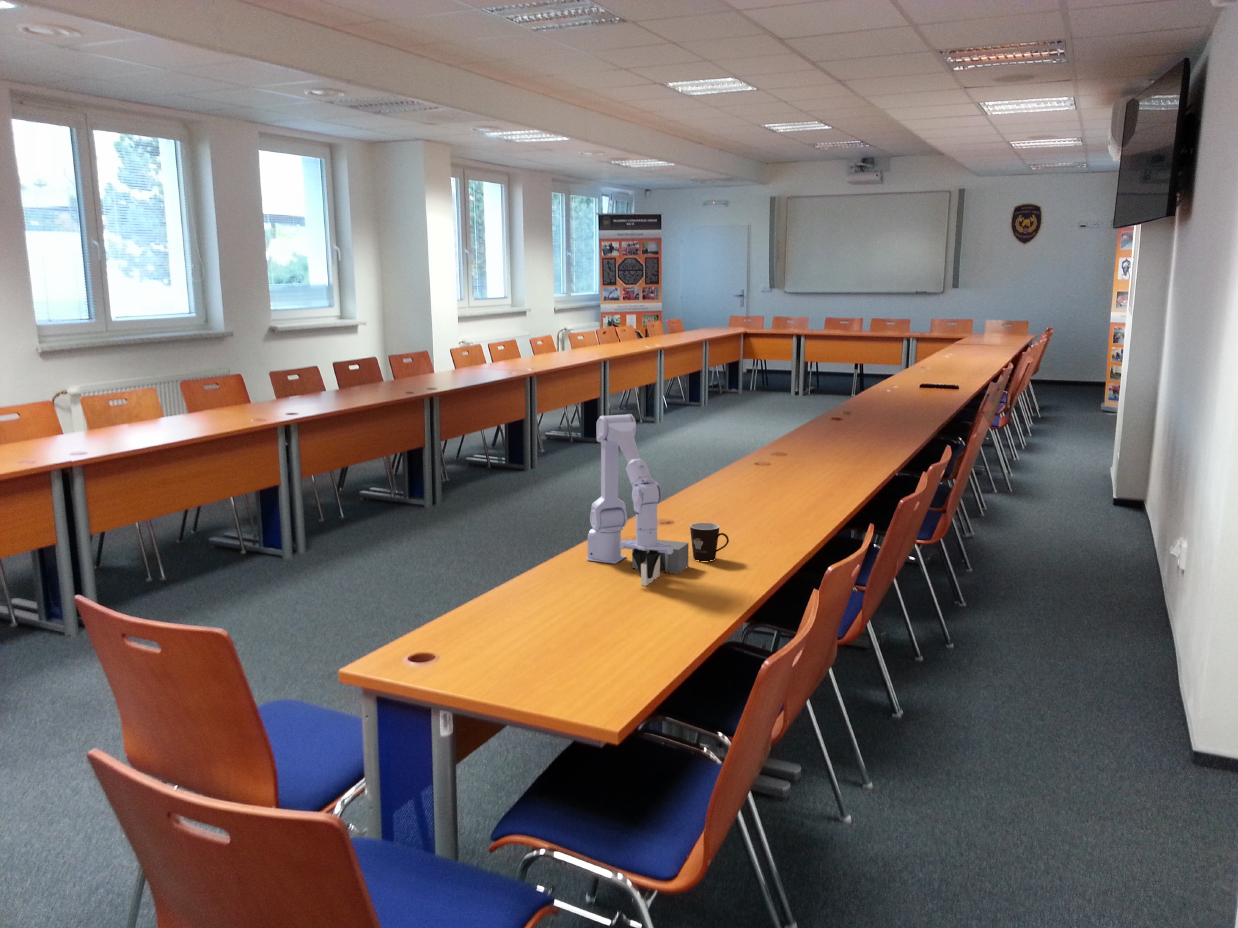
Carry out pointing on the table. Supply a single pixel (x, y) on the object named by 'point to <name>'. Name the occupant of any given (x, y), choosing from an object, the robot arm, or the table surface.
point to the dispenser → (671, 557)
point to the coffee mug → (705, 540)
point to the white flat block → (644, 577)
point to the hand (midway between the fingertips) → (646, 576)
